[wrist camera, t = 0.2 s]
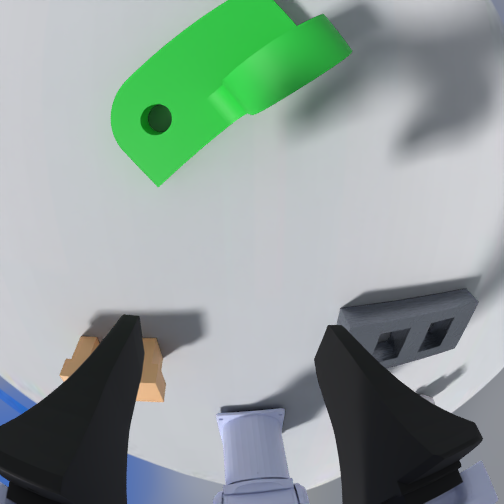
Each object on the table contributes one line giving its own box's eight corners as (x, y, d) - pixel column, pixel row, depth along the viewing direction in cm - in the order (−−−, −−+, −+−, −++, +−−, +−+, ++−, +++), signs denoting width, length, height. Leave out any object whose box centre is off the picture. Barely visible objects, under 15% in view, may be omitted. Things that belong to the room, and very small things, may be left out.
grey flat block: (444, 334, 29) (454, 348, 27) (327, 360, 28) (334, 378, 26) (466, 288, 26) (478, 301, 24) (340, 308, 24) (350, 327, 22)
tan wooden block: (168, 358, 26) (163, 402, 21) (86, 355, 25) (72, 394, 20) (162, 337, 24) (155, 383, 20) (76, 335, 23) (59, 375, 19)
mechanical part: (252, -6, 12) (274, -66, 5) (313, 62, 15) (374, 43, 8) (104, 115, 15) (34, 130, 8) (164, 178, 18) (129, 231, 11)
